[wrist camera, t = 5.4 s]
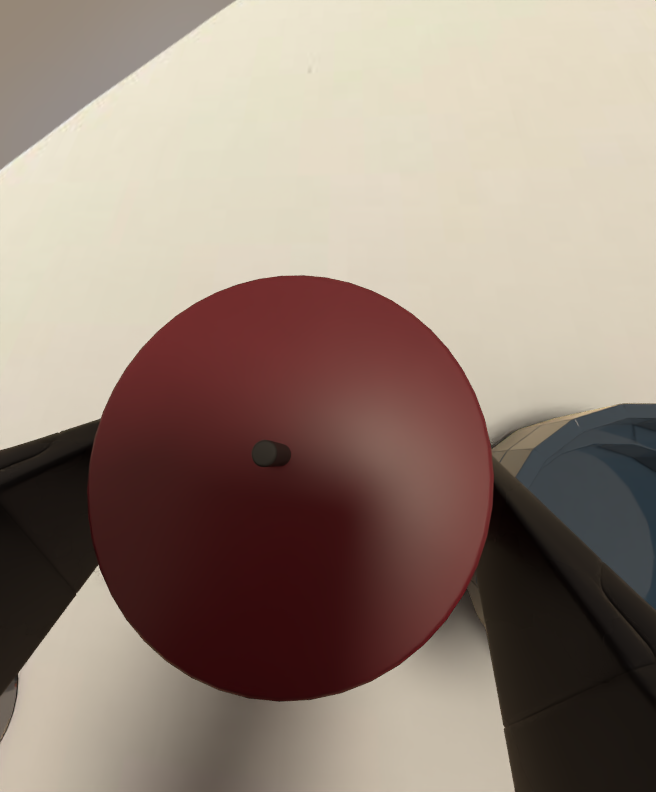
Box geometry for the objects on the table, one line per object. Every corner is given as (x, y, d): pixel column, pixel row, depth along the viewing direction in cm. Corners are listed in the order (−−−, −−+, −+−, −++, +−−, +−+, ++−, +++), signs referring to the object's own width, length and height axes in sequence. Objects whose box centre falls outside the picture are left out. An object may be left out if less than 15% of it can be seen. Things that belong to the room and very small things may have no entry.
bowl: (521, 744, 13) (611, 894, 8) (416, 459, 16) (442, 459, 11) (803, 660, 13) (1044, 766, 8) (642, 389, 16) (756, 361, 11)
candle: (299, 527, 15) (35, 858, 3) (274, 427, 17) (15, 311, 4) (399, 495, 15) (649, 672, 2) (365, 398, 17) (415, 183, 4)
